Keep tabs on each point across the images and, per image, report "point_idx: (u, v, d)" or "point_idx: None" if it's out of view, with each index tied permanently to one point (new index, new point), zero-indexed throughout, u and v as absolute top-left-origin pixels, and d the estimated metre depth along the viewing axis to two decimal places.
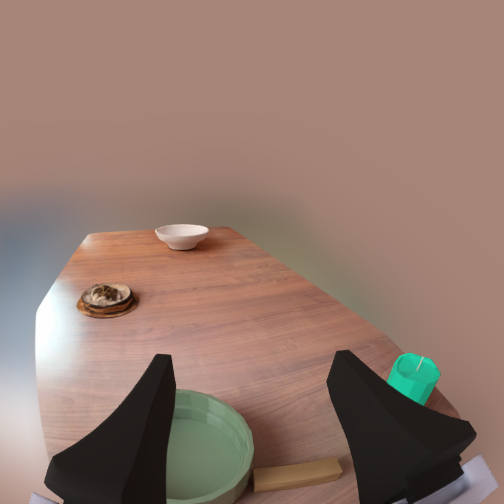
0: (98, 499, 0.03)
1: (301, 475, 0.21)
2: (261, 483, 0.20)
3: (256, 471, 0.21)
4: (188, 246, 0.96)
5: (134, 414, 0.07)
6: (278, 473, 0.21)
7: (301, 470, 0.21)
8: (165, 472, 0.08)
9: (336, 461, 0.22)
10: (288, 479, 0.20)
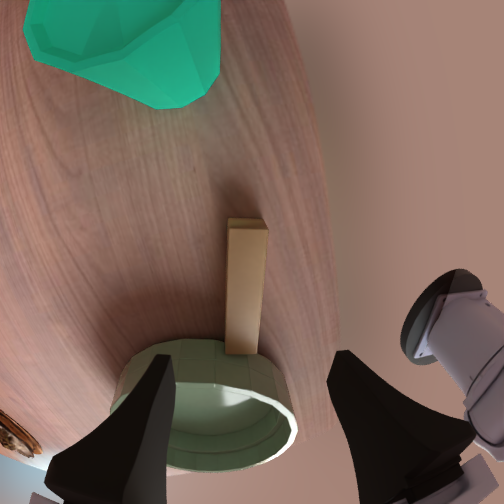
0: (98, 499, 0.03)
1: (253, 298, 0.17)
2: (255, 348, 0.18)
3: (232, 351, 0.18)
4: None
5: (134, 414, 0.07)
6: (241, 327, 0.18)
7: (242, 295, 0.17)
8: (165, 472, 0.08)
9: (240, 232, 0.15)
10: (256, 316, 0.17)
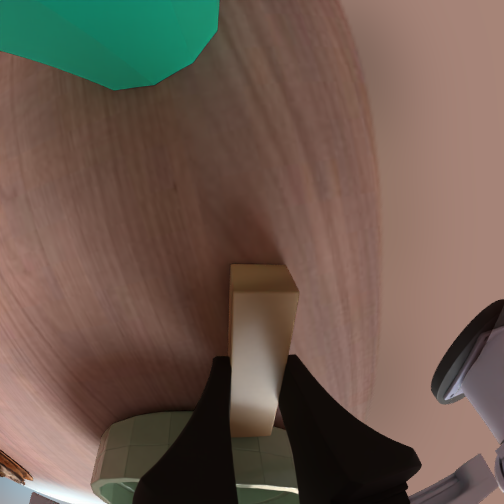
0: None
1: (269, 382, 0.11)
2: (269, 430, 0.12)
3: (238, 435, 0.12)
4: None
5: (213, 420, 0.07)
6: (250, 413, 0.11)
7: (254, 380, 0.10)
8: None
9: (252, 298, 0.09)
10: (273, 401, 0.11)
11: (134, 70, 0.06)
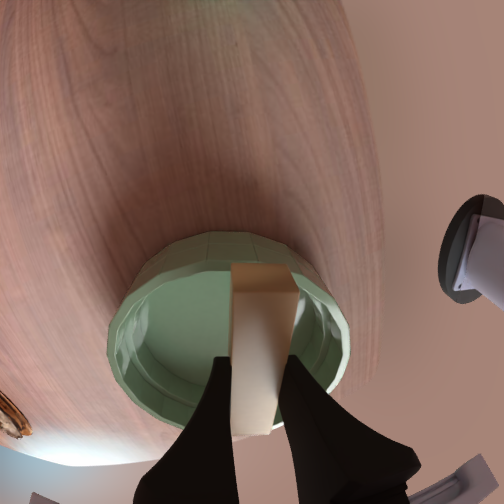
0: None
1: (269, 382, 0.11)
2: (269, 429, 0.12)
3: (237, 433, 0.12)
4: None
5: (214, 420, 0.07)
6: (250, 412, 0.11)
7: (254, 379, 0.10)
8: None
9: (252, 298, 0.09)
10: (273, 400, 0.11)
11: None
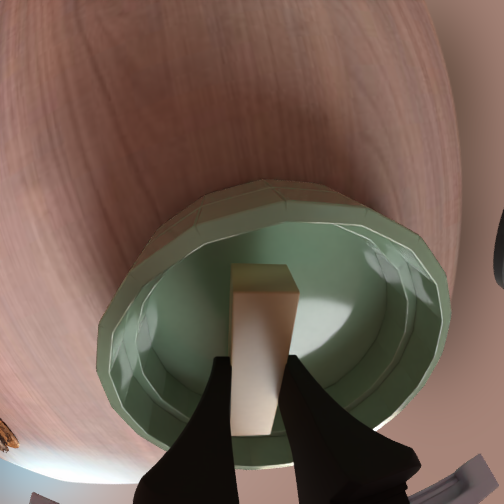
0: None
1: (269, 382, 0.11)
2: (269, 429, 0.12)
3: (237, 433, 0.12)
4: None
5: (214, 420, 0.07)
6: (250, 412, 0.11)
7: (254, 380, 0.10)
8: None
9: (252, 299, 0.09)
10: (273, 401, 0.11)
11: None
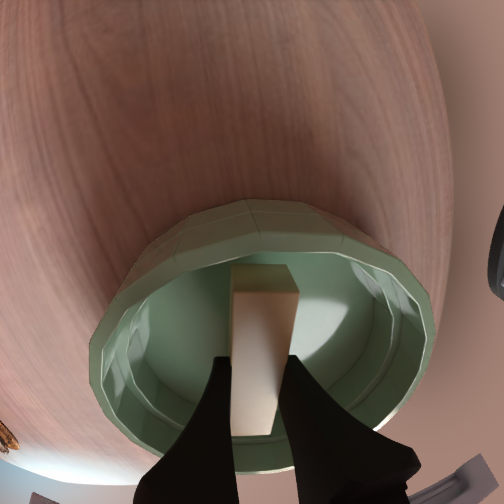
0: None
1: (269, 382, 0.11)
2: (269, 429, 0.12)
3: (237, 433, 0.12)
4: None
5: (214, 420, 0.07)
6: (250, 412, 0.11)
7: (254, 380, 0.10)
8: None
9: (252, 299, 0.09)
10: (273, 401, 0.11)
11: None
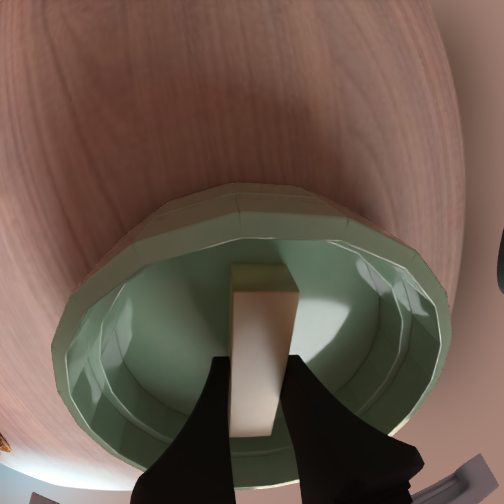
0: None
1: (269, 382, 0.11)
2: (269, 430, 0.12)
3: (238, 434, 0.12)
4: None
5: (212, 420, 0.07)
6: (250, 413, 0.11)
7: (254, 380, 0.10)
8: None
9: (253, 298, 0.09)
10: (273, 401, 0.11)
11: None
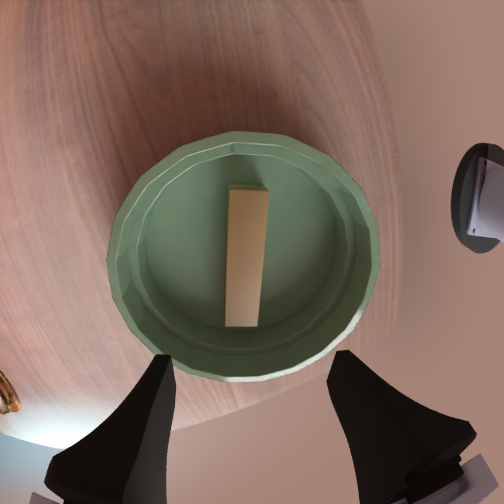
0: (98, 499, 0.03)
1: (253, 263, 0.17)
2: (256, 319, 0.18)
3: (231, 323, 0.18)
4: None
5: (134, 414, 0.07)
6: (241, 295, 0.17)
7: (243, 260, 0.17)
8: (165, 472, 0.08)
9: (241, 193, 0.15)
10: (257, 284, 0.17)
11: None
